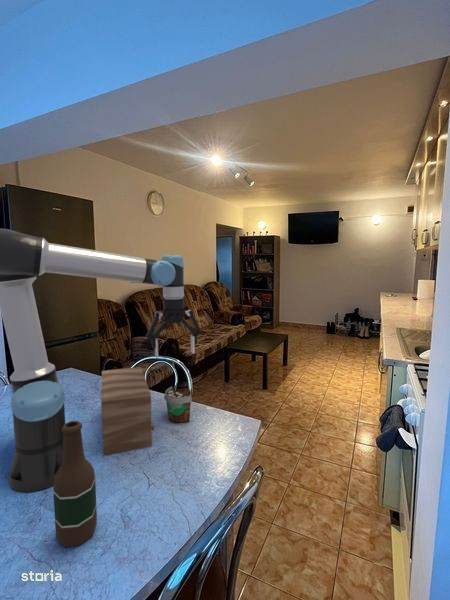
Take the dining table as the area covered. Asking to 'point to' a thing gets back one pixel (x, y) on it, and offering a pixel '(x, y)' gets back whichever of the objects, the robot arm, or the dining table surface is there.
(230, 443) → the dining table surface
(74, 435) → the beer bottle
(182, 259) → the robot arm
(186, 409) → the food container
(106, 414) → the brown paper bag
